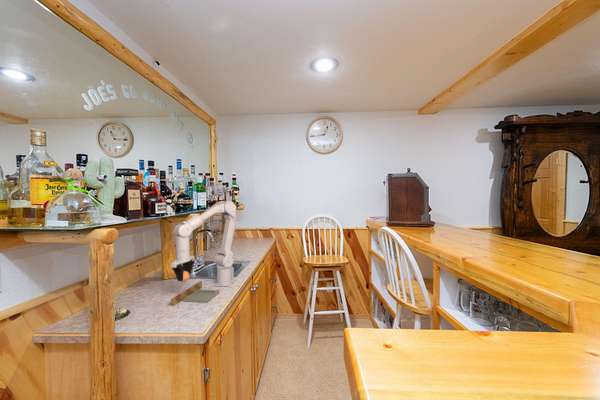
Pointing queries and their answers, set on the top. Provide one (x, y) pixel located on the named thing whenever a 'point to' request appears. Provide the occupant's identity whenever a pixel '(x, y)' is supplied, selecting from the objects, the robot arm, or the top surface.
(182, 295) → the wooden plank
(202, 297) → the tray
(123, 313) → the log
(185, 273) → the ball
